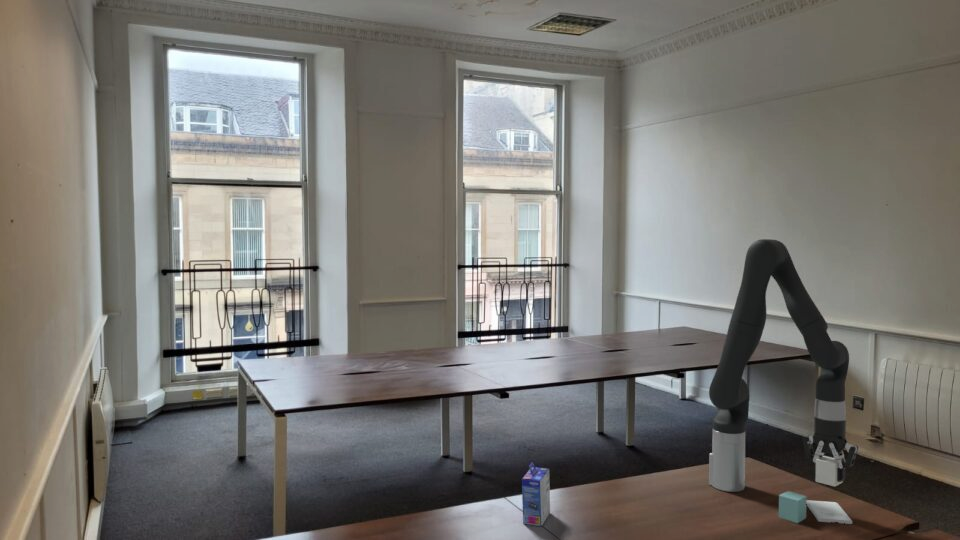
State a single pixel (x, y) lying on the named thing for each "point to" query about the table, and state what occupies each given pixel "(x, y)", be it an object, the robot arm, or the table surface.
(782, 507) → the teal block
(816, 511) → the external hard drive
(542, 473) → the ink cartridge box
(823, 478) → the white block
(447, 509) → the table surface
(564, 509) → the table surface
